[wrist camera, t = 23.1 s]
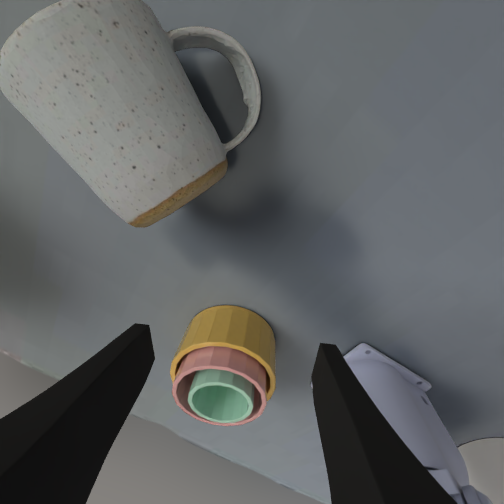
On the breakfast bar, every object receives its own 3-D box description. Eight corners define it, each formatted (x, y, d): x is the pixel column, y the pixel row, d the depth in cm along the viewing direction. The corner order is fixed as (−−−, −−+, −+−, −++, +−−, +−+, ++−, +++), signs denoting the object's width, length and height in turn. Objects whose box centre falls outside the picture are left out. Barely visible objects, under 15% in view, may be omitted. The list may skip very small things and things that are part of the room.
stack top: (282, 335, 23) (285, 395, 18) (241, 375, 26) (233, 436, 21) (217, 298, 22) (199, 350, 17) (182, 344, 25) (157, 401, 20)
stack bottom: (293, 334, 23) (297, 376, 19) (244, 381, 27) (238, 424, 23) (214, 289, 22) (200, 324, 18) (173, 345, 25) (154, 385, 21)
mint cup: (267, 344, 23) (265, 402, 18) (238, 372, 25) (230, 430, 20) (222, 319, 22) (207, 372, 17) (196, 350, 24) (177, 405, 19)
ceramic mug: (164, 213, 19) (103, 258, 12) (85, 110, 16) (-56, 88, 9) (285, 135, 16) (298, 134, 9) (215, -8, 13) (154, -176, 6)
